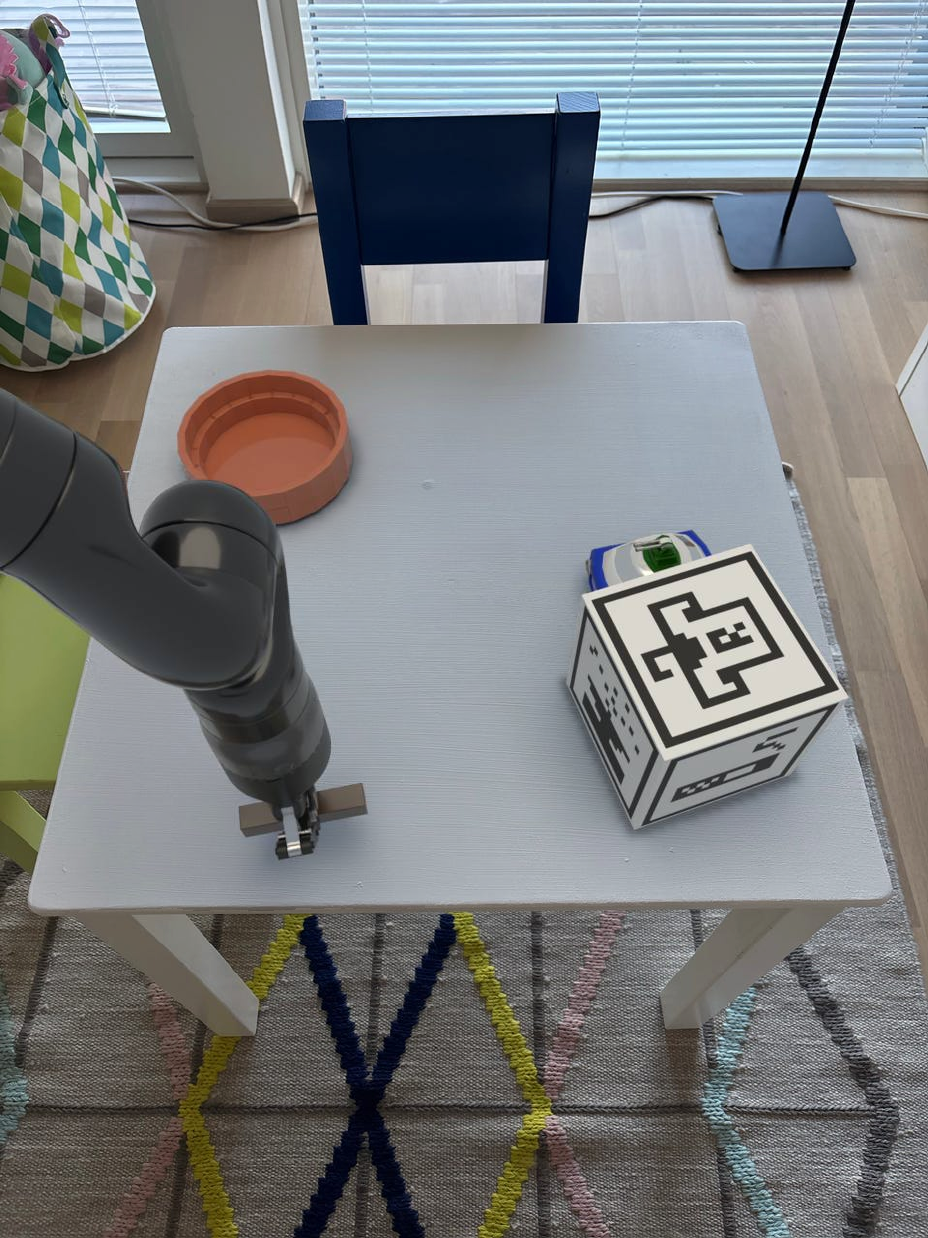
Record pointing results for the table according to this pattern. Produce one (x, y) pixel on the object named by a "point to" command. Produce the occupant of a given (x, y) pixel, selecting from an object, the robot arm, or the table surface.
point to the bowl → (270, 441)
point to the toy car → (642, 557)
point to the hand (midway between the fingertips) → (305, 814)
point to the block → (698, 684)
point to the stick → (330, 808)
